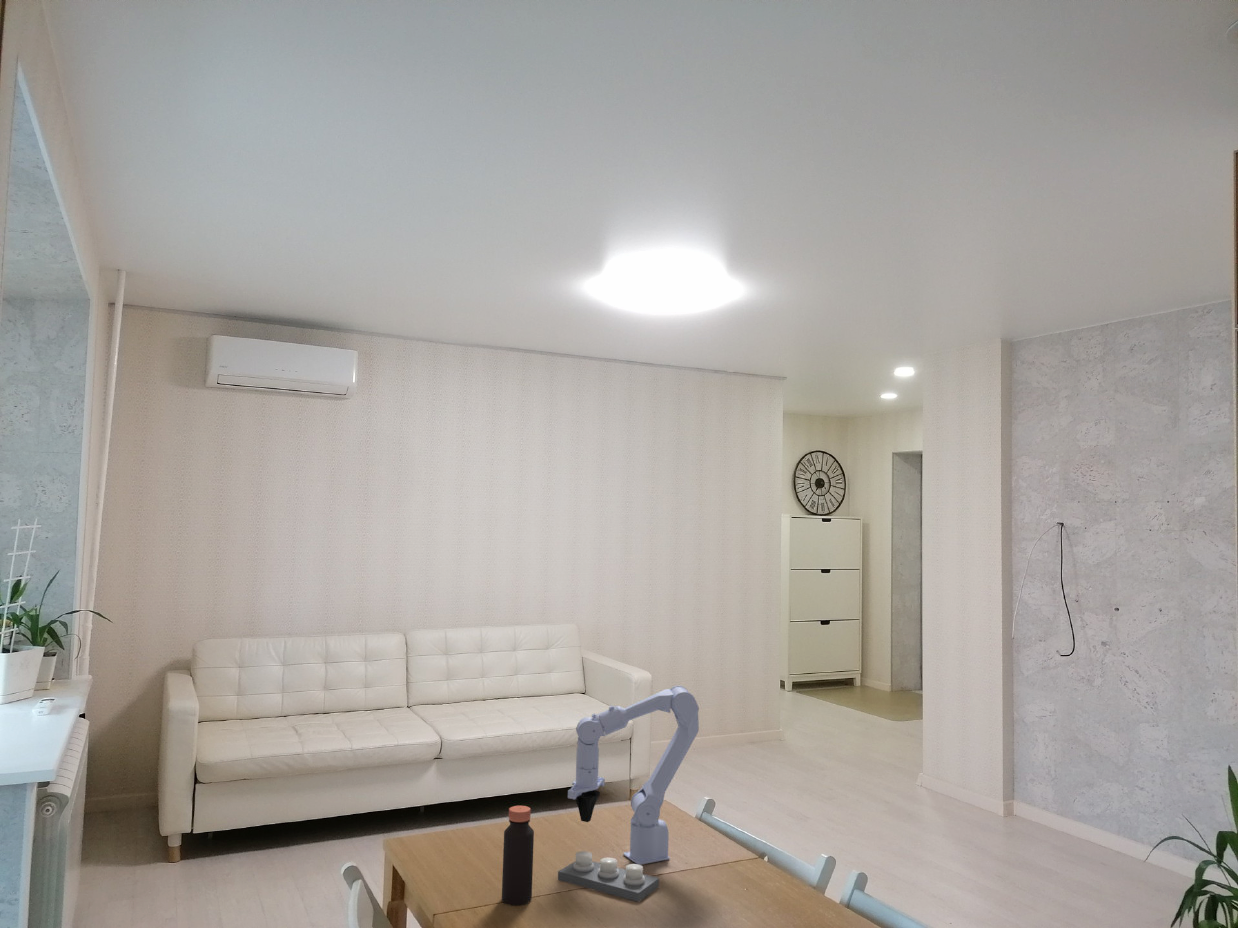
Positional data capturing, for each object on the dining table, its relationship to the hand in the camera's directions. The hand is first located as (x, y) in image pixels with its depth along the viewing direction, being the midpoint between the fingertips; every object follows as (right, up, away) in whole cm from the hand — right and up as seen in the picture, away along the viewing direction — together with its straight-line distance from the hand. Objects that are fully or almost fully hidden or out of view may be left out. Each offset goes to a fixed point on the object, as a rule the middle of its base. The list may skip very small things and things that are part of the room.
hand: (585, 820), depth 223 cm
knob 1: (0, -5, -12) cm, 13 cm away
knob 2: (+6, -5, -15) cm, 17 cm away
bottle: (-15, -7, -26) cm, 31 cm away
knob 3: (+12, -5, -19) cm, 23 cm away
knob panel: (+6, -9, -15) cm, 19 cm away
